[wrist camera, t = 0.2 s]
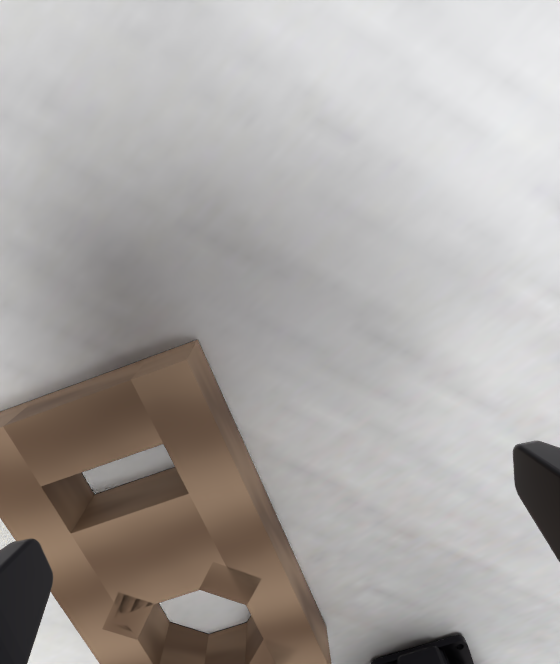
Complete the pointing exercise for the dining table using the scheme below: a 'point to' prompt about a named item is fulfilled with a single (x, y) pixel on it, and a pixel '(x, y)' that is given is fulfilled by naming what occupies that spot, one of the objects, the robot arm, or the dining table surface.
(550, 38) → the dining table surface
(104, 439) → the socket board
